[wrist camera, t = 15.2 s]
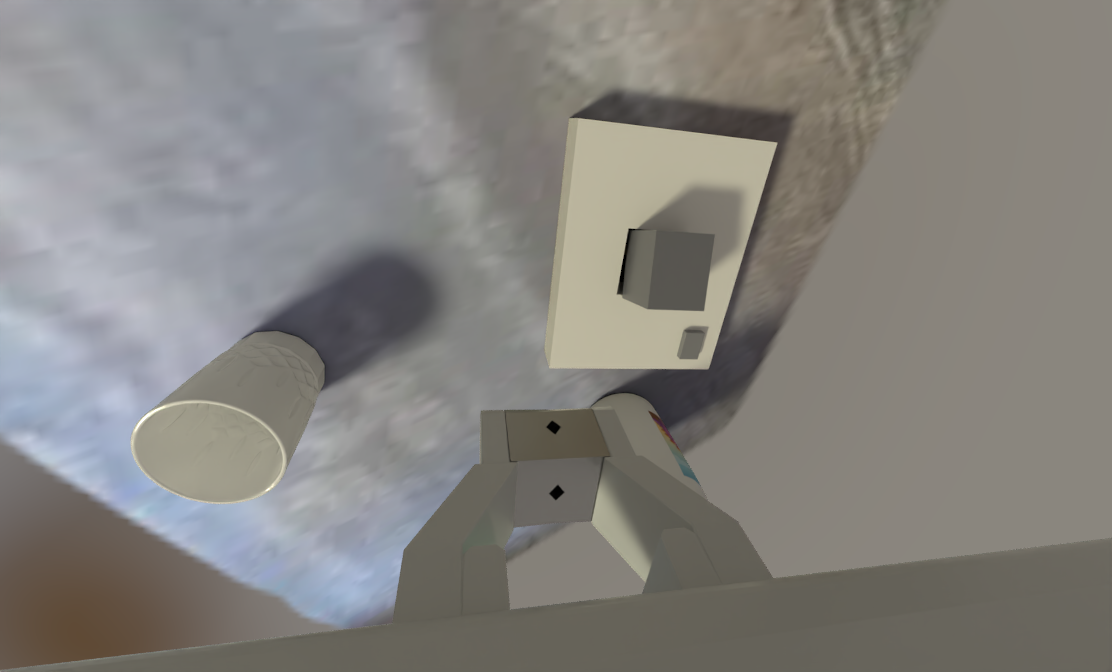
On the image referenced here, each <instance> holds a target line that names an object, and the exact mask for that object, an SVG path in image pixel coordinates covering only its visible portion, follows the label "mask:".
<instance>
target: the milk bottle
mask: <svg viewBox="0 0 1112 672" xmlns="http://www.w3.org/2000/svg"><path fill="white" fill-rule="evenodd" d="M593 407H612V408H614V410H615V412H616V414H617V416H618V418H619V420H620V423H621V425H622V427H623V429H624V431H625V433H626V435H627V438H628V440H629V442H630V444H631V446H632V448H633V450H634V452H635V455H636V456H644V457H645V458H647V459H648V460H650V461H651V462H652V463H654V464H655V465H657V466H658V467H660V468H661V469H663V470H664V471H666V472H667V473H668V474H670V475H671V476H673V477H674V478H676V479H677V480H679V481H680V482H681V483H683V484H684V485H686V486H687V487H689V488H690V489H692V490H693V491H695V492H696V493H697V494H699V495H700V496H702V497H703V498H705V499H706V500H708V499H707V497H706V495H705V493H704V491H703V489H702V487H701V485H700V484H699V482H698V480H697V478H696V477H695V475H694V473H693V471H692V470H691V468H690V466H689V465H688V463H687V461H686V460H685V458H684V456H683V454H682V453H681V451H680V449H679V448H678V446H677V445H676V443H675V441H674V440H673V438H672V436H671V435H670V433H669V431H668V430H667V428H666V427H665V425H664V423H663V422H662V420H661V418H660V417H659V415H658V414H657V412H656V411H655V409H654V408H653V406H652V405H651V404H650V403H649V402H648V401H647V400H646V399H644V398H642V397H640V396H637V395H635V394H629V393H618V394H613V395H610V396H607V397H604V398H603V399H601V400H599V401H597V402H596V403H595V404H594V405H593V406H591V408H593Z"/></svg>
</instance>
